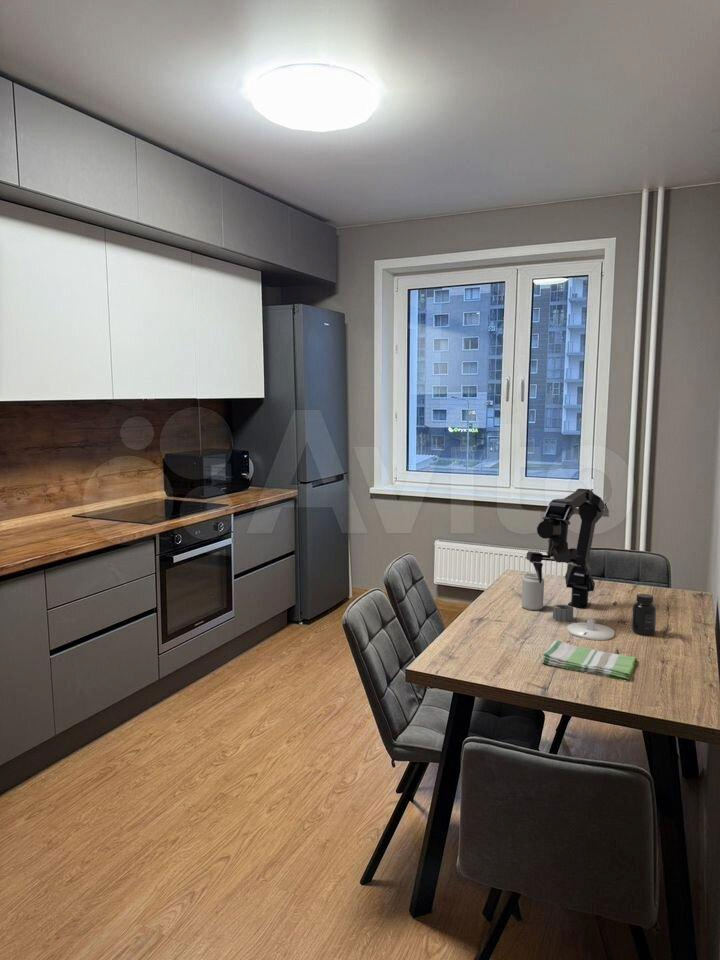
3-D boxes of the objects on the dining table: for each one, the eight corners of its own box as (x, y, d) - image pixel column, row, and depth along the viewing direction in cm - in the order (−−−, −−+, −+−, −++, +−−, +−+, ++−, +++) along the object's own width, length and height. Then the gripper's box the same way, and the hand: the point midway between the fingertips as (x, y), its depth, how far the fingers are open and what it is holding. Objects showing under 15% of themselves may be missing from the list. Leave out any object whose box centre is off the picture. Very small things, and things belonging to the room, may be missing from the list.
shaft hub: (576, 622, 216) (576, 610, 216) (619, 631, 208) (620, 619, 207) (560, 633, 205) (561, 621, 205) (606, 643, 197) (606, 630, 196)
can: (541, 605, 235) (542, 572, 234) (544, 611, 228) (546, 577, 226) (519, 604, 236) (521, 571, 235) (522, 610, 228) (524, 577, 227)
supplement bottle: (655, 630, 209) (657, 594, 207) (654, 637, 203) (657, 599, 201) (632, 627, 212) (634, 591, 210) (631, 634, 205) (633, 597, 204)
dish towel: (554, 647, 195) (554, 635, 195) (637, 662, 184) (637, 650, 183) (539, 666, 180) (540, 654, 180) (629, 684, 169) (629, 671, 168)
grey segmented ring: (565, 615, 224) (565, 602, 223) (576, 620, 218) (577, 608, 217) (549, 616, 222) (549, 604, 222) (560, 622, 216) (560, 609, 215)
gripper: (537, 538, 210) (532, 586, 210) (594, 543, 210) (590, 591, 210) (527, 534, 221) (523, 580, 221) (582, 539, 221) (578, 584, 221)
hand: (553, 584), depth 218 cm, fingers open, 9 cm apart
